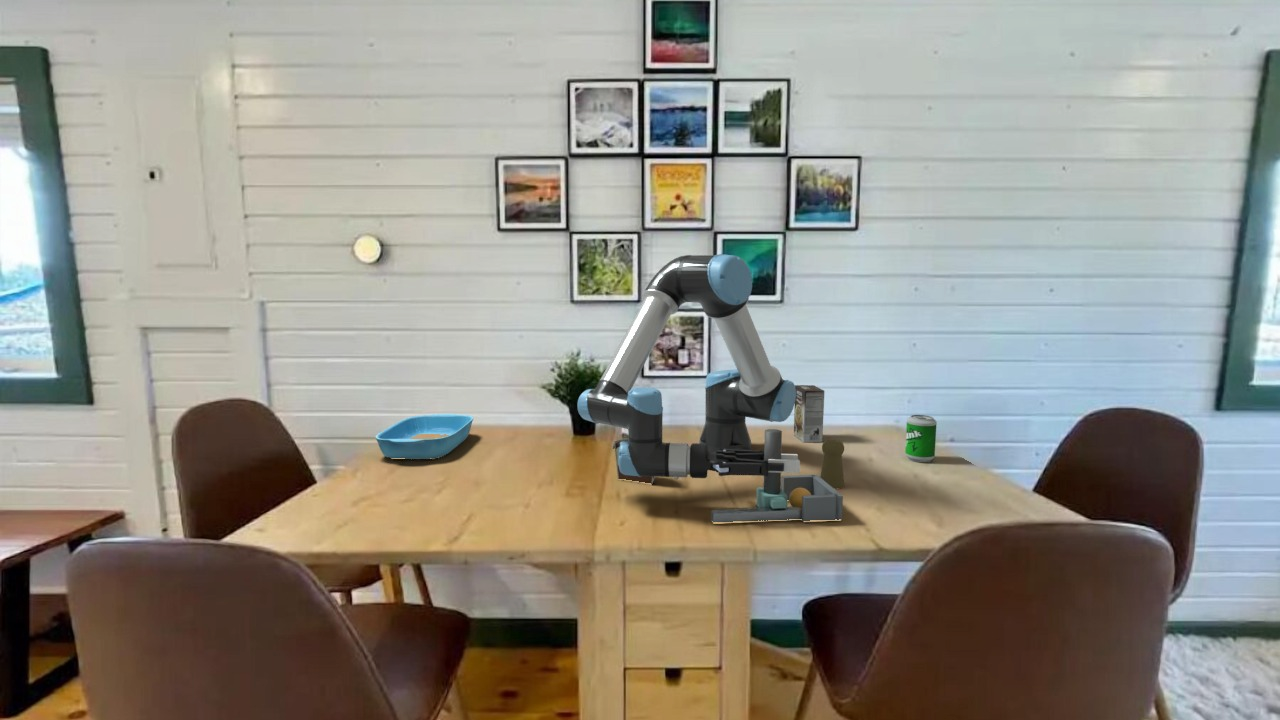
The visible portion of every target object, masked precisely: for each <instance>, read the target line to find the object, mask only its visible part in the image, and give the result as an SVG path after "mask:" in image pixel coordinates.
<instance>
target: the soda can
mask: <svg viewBox="0 0 1280 720" xmlns="http://www.w3.org/2000/svg"><path fill="white" fill-rule="evenodd" d="M937 422H938V421H936V419H935V418H934V417H933V416H931V415H927V414H912V415H910V416H909V417H908V418H907V419H906V430H905V431H906V432H905V433H906V434H905V447H904V448H905V451H904V454H905V457H907V458H908V460H909V461H911V462H914V463H915V462H916V463H931V462H932V460H934V459H935V458H936V457H935V454H936V442H937V441H936V440H937V438H936V437H937Z"/></svg>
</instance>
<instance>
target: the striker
mask: <svg viewBox="0 0 1280 720" xmlns="http://www.w3.org/2000/svg"><path fill="white" fill-rule="evenodd" d="M782 434H783V431H782V430H781V429H777V428H776V429H775V428H772V429H771V428H768V429H765V430H764V448H763V449H764V460H767V461H768V459H781V454H782V445H783V444H782V441H783V439H782V438H783V437H782V436H783V435H782ZM781 474H782V473H776V472H768V476H767V477H765V476H763V487H756V506H757V508H773V509H775V508H787V507H788V501H787V495H786V494H785V493H784V492H783V491H782V488H781V487H782V475H781Z"/></svg>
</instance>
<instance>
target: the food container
mask: <svg viewBox="0 0 1280 720" xmlns="http://www.w3.org/2000/svg"><path fill="white" fill-rule="evenodd" d="M626 441H628V437H627V438H620V439H616V440H614V441H613V444H612V450H614V454H615V462H616V473H617V480H618V479H626V480H632V481H639V482H645V483H651V484H653V483H654V484H655V477H643V476H642V477H638V476H630V475H624V474H622V473H621V472H620V470H619V448H620V444H621V443H622V442H626ZM654 484H653V485H654Z"/></svg>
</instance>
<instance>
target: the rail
mask: <svg viewBox="0 0 1280 720" xmlns="http://www.w3.org/2000/svg"><path fill="white" fill-rule="evenodd" d="M787 519H788V520H789V519H802V509H801V508H800V507H799V506H798V507H792V506H787V508H775V509H773V508H758V507H755V508H735V509H733V508H732V509H712V510H710V521H711V520H712V521H713V522H733V521H758V520H759V521H761V520H762V521H763V520H764V521H766V520H767V521H768V520H787Z"/></svg>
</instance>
